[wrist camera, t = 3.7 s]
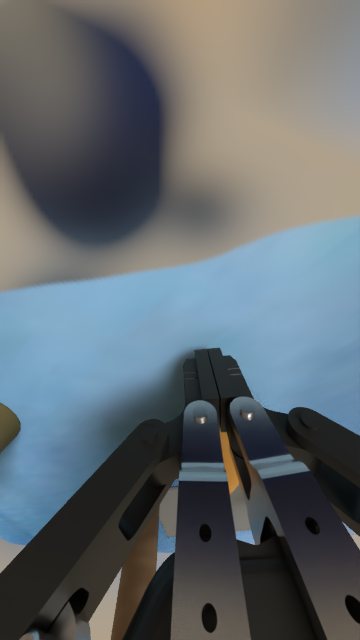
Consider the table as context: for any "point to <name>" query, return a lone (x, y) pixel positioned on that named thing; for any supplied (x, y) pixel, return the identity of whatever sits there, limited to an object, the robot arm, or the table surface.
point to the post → (136, 577)
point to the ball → (228, 463)
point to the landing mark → (170, 511)
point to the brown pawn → (7, 426)
